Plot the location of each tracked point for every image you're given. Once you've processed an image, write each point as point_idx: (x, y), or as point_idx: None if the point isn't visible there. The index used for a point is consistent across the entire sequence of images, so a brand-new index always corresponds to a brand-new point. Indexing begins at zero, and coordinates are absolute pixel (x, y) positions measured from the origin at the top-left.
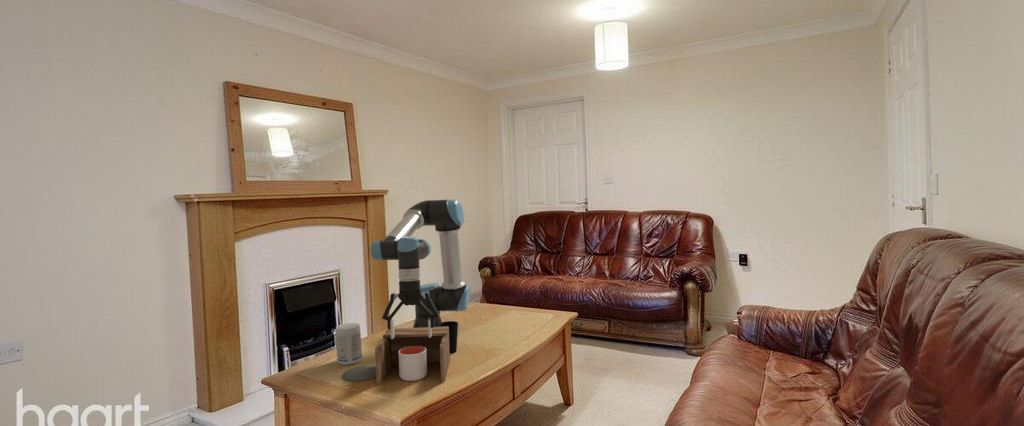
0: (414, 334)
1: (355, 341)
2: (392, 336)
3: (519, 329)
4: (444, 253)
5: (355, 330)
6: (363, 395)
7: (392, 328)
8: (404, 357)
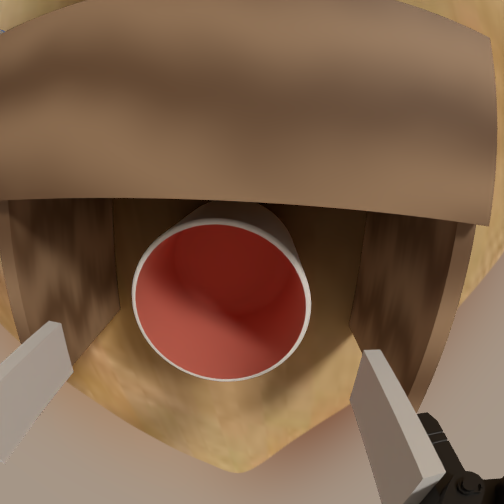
0: (203, 199)
1: None
2: (61, 381)
3: None
4: None
5: None
6: (103, 372)
7: (32, 420)
8: (186, 363)
